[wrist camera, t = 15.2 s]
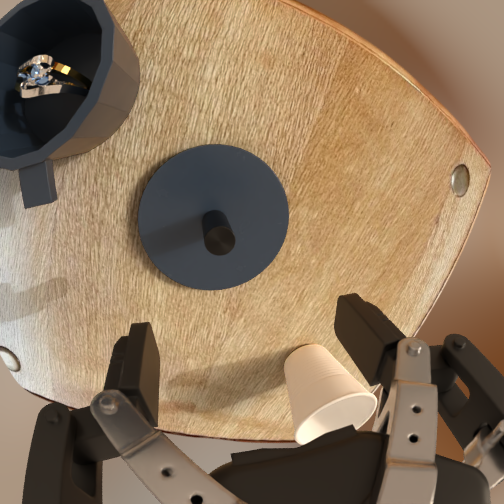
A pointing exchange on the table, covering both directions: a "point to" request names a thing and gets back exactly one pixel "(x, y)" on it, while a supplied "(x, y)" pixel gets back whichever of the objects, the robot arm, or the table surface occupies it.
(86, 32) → the pot
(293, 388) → the cup
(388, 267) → the table surface
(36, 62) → the ring
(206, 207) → the lid
